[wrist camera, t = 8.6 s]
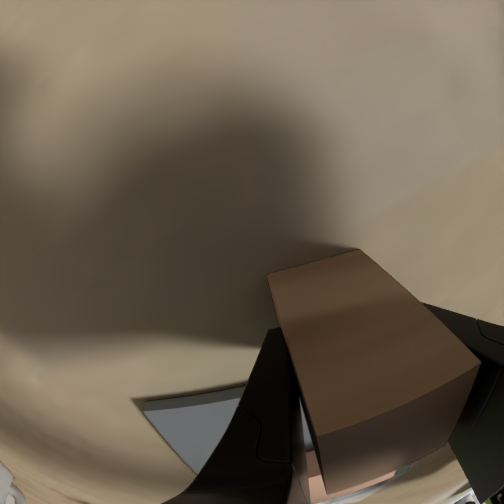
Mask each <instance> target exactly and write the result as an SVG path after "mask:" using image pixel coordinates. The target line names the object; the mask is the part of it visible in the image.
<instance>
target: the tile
mask: <svg viewBox="0 0 504 504" xmlns="http://www.w3.org/2000/svg"><path fill="white" fill-rule="evenodd" d="M306 459H307V469H308V479H309V489H310V500H311V504H315V503H318V502H322V501H326V500H329V499H333V498H336V497H340V496H343V495H346V494H349V493H352V492H355V491H358V490H361V489H364V488H366V487H369V486H372V485H374V484H377V483H379V482H382V481H384V480H387V479H389V478H391V477H393V476H394V474H395V471H396V470H395V471H393V472H391V473H388V474H386V475H384V476H381V477H379V478H376V479H374V480H371V481H368V482H366V483H363V484H360V485H357V486H354V487H351V488H348V489H345V490H342V491H339V492H336V493H332V494H329V495H327V494H326V490H325V487H324V483H323V480H322V476H321V472H320V469H319V465H318V462H317V458H316V455H315V451H310V452H306Z"/></svg>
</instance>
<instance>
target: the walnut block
mask: <svg viewBox="0 0 504 504" xmlns="http://www.w3.org/2000/svg"><path fill="white" fill-rule="evenodd" d="M267 279H268V282H269V286H270V290H271V294H272V298H273V302H274V306H275V310H276V314H277V318H278V322H279V326H280V327H281V329H282V332H283V335H284V338H285V341H286V344H287V347H288V351H289V354H290V358H291V363H292V367H293V371H294V375H295V380H296V384H297V388H298V393H299V398H300V402H301V406H302V409H303V413H304V416H305V420H306V423H307V427H308V430H309V434H310V437H311V441H312V444H313V448H314V451H315V455H316V458H317V462H318V465H319V469H320V472H321V476H322V480H323V483H324V487H325V490H326V494H327V495H329V494H332V493H336V492H339V491H342V490H345V489H348V488H351V487H354V486H357V485H360V484H363V483H366V482H368V481H371V480H374V479H376V478H379V477H381V476H384V475H386V474H388V473H391V472H393V471H395V470H398V469H400V468H402V467H404V466H406V465H408V464H411V463H413V462H415V461H417V460H419V459H421V458H423V457H425V456H426V455H428V454H430V453H432V452H434V451H436V450H438V449H439V448H441V447H443V446H445V444H446V443H447V441H448V439H449V437H450V435H451V433H452V431H453V429H454V427H455V425H456V423H457V421H458V419H459V417H460V414H461V412H462V410H463V408H464V405H465V403H466V401H467V398H468V396H469V394H470V391H471V389H472V386H473V384H474V381H475V378H476V376H477V373H478V370H479V367H480V364H481V361H480V360H479V359H478V358H477V357H476V356H475V355H474V354H473V353H472V352H471V351H470V350H469V349H468V348H467V347H466V346H465V345H464V344H463V343H462V342H461V341H460V340H459V339H458V338H457V337H456V336H455V335H454V334H453V333H452V332H451V331H450V330H449V329H448V328H447V327H446V326H445V325H444V324H443V323H442V322H441V321H440V320H439V319H438V318H437V317H436V316H435V315H434V314H433V313H432V312H430V311H429V310H428V309H427V308H426V307H425V306H424V305H423V304H422V303H421V302H420V301H419V300H418V299H416V298H415V297H414V296H413V295H412V294H411V293H410V292H409V291H408V290H407V289H405V288H404V287H403V286H402V285H401V284H400V283H399V282H398V281H396V280H395V279H394V278H393V277H392V276H391V275H390V274H389V273H387V272H386V271H385V270H384V269H383V268H382V267H380V266H379V265H378V264H377V263H376V262H375V261H373V260H372V259H371V258H370V257H369V256H368V255H366V254H365V253H364V252H363V251H362V250H360V249H357V250H354V251H350V252H347V253H343V254H340V255H336V256H333V257H329V258H326V259H322V260H318V261H315V262H311V263H308V264H304V265H300V266H297V267H293V268H289V269H286V270H282V271H278V272H275V273H271V274H267Z"/></svg>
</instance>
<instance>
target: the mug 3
mask: <svg viewBox="0 0 504 504" xmlns="http://www.w3.org/2000/svg"><path fill="white" fill-rule="evenodd" d="M455 504H476V503H475V502H474V500H473V498H472V496H471V494H468V495H467V496H465V497H463V498H462V499H460V500H459V501H457V502H456V503H455Z"/></svg>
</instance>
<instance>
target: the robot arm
mask: <svg viewBox="0 0 504 504" xmlns="http://www.w3.org/2000/svg"><path fill="white" fill-rule="evenodd" d="M421 303H422V302H421ZM422 304H423V305H424V306H425V307H426V308H427V309H428V310H429V311H430V312H432V313H433V314H434V315H435V316H436V317H437V318H438V319H439V320H440V321H441V322H442V323H443V324H444V325H445V326H446V327H447V328H448V329H449V330H450V331H451V332H452V333H453V334H454V335H455V336H456V337H457V338H458V339H459V340H460V341H461V342H462V343H463V344H464V345H465V346H466V347H467V348H468V349H469V350H470V351H471V352H472V353H473V354H474V355H475V356H476V357H477V358H478V359H479V360H480V361H481V364H480V367H479V370H478V373H477V376H476V378H475V381H474V384H473V386H472V389H471V391H470V394H469V396H468V398H467V401H466V403H465V405H464V408H463V410H462V412H461V414H460V417H459V419H458V421H457V423H456V425H455V427H454V429H453V431H452V433H451V435H450V437H449V439H448V443H449V445H450V447H451V448H452V450H453V452H454V454H455V455H456V458H457V460H458V462H459V464H460V465H461V467H462V469H463V471H464V473H465V475H466V477H467V479H468V481H469V483H470V485H471V487H472V489H473V491H474V493H475V495H476V497H477V499H478V501H479V503H480V504H482V503H483V502H485V501H486V500H488V499H490V501H491V504H504V326H500V325H496V324H493V323H489V322H486V321H482V320H479V319H477V320H476V319H475V318H472V317H469V316H466V315H462V314H459V313H456V312H452V311H449V310H446V309H442V308H439V307H436V306H432V305H429V304H426V303H422ZM161 504H311V500H310V489H309V479H308V469H307V459H306V450H305V440H304V431H303V423H302V414H301V406H300V398H299V393H298V388H297V384H296V380H295V375H294V371H293V367H292V363H291V358H290V354H289V351H288V347H287V344H286V341H285V338H284V335H283V332H282V329H281V327H277V328H273V329H269V330H268V332H267V334H266V337H265V339H264V342H263V345H262V347H261V350H260V352H259V355H258V357H257V360H256V362H255V365H254V367H253V369H252V372H251V374H250V377H249V379H248V382H247V384H246V386H245V389H244V391H243V394H242V396H241V398H240V401H239V403H238V406H237V407H236V410H235V412H234V414H233V417H232V419H231V421H230V423H229V425H228V427H227V429H226V431H225V433H224V434H223V436H222V438H221V439H220V441H219V443H218V444H217V446H216V448H215V449H214V451H213V452H212V454H211V455H210V457H209V458H208V460H207V461H206V463H205V464H204V466H203V467H202V469H201V470H200V472H199V473H198V475H197V476H196V478H195V479H194V480H193V482H192V483H191V484H190V485H189V486H188V487H187V488H186V489H185V490H184V491H183V492H182V493H180V494H179V495H177V496H175V497H173V498H171V499H170V500H168V501H166V502H164V503H161Z"/></svg>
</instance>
